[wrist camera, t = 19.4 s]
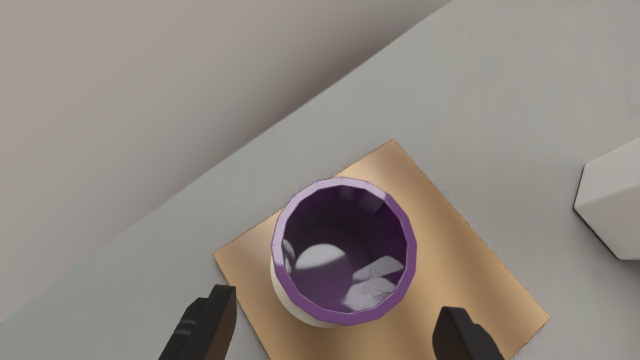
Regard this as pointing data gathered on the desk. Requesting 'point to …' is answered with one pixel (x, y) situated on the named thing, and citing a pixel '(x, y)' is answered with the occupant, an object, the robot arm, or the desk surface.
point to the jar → (613, 199)
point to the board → (421, 297)
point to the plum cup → (344, 251)
